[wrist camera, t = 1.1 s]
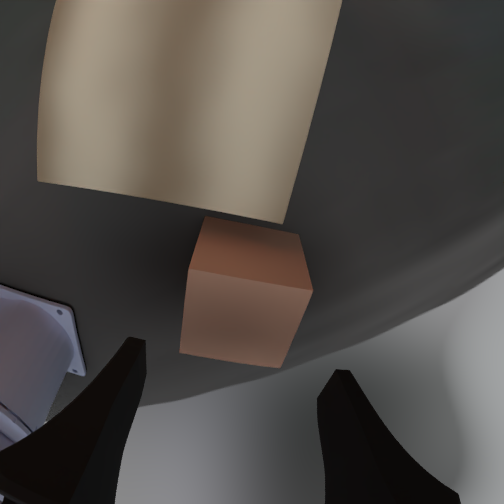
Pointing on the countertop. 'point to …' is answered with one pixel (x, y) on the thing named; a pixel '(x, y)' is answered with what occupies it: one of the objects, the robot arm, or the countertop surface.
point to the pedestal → (183, 99)
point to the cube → (244, 293)
